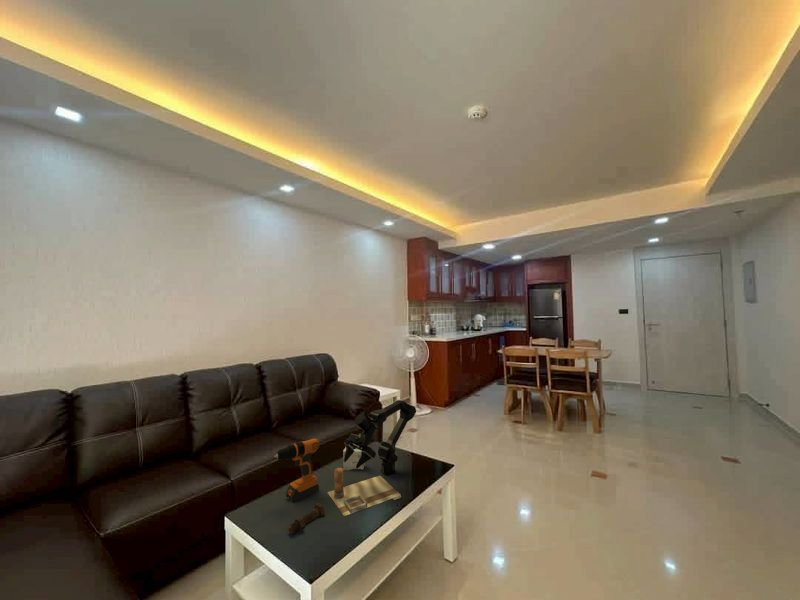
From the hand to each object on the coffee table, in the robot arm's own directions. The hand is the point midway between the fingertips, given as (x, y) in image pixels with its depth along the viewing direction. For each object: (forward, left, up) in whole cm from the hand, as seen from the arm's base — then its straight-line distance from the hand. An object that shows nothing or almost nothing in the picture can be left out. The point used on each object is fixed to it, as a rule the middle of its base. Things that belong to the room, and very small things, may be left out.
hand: (350, 464), depth 156 cm
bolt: (+25, +12, -14) cm, 30 cm away
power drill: (+22, -10, -13) cm, 28 cm away
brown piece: (+7, +2, -12) cm, 14 cm away
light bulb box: (-11, -21, -13) cm, 27 cm away
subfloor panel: (-4, +6, -13) cm, 15 cm away
